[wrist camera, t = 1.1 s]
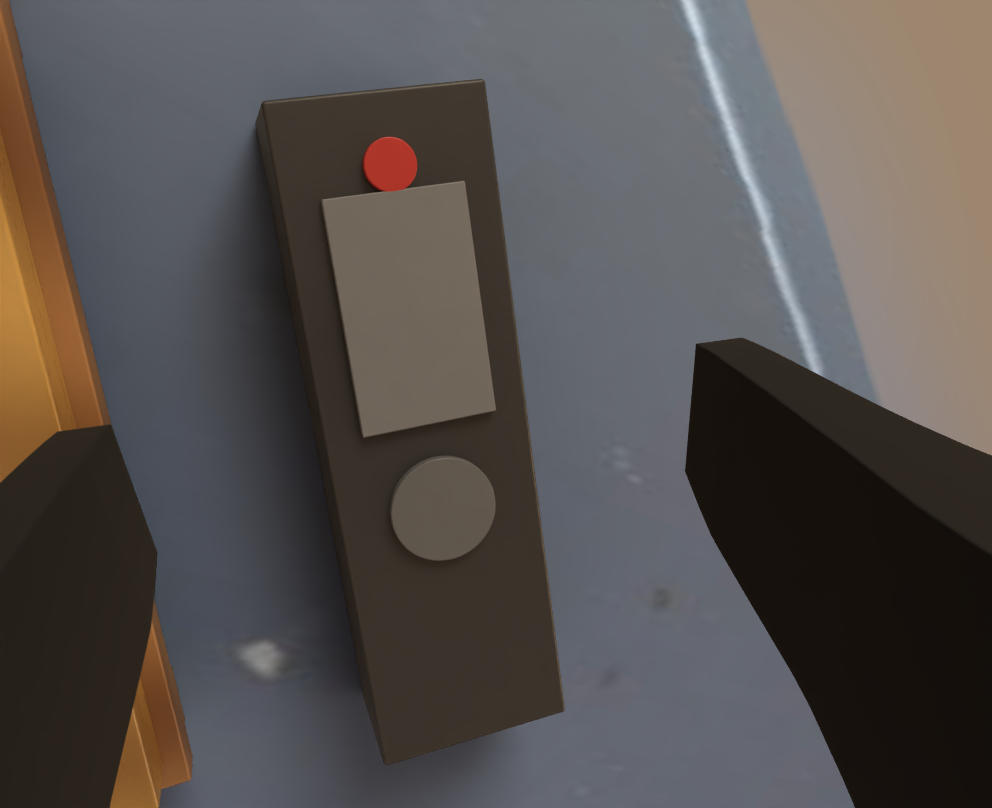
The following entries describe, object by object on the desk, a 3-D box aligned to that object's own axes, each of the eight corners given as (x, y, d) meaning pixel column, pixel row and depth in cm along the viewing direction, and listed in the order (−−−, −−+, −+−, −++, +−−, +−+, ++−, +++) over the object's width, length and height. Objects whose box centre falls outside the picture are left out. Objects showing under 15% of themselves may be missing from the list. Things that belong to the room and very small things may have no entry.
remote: (522, 650, 25) (569, 717, 22) (362, 695, 24) (386, 773, 20) (446, 100, 21) (488, 76, 18) (254, 120, 20) (261, 98, 17)
